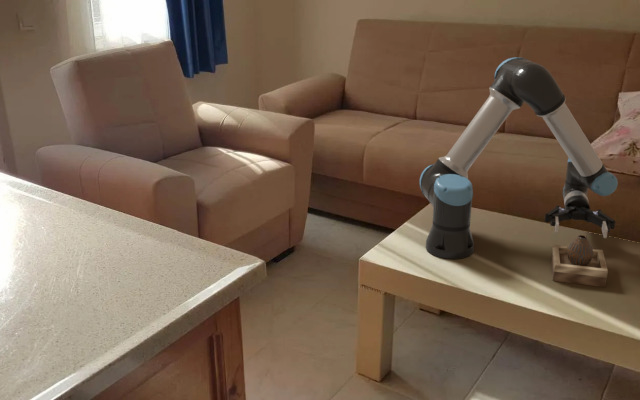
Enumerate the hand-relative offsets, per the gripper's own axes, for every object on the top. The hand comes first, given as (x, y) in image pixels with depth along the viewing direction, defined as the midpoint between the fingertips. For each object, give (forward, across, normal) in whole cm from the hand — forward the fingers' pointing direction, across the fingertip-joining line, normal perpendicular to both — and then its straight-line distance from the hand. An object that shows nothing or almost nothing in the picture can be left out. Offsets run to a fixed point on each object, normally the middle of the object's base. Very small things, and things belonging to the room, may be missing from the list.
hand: (581, 231), depth 186 cm
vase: (+7, 0, -8) cm, 10 cm away
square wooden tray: (+7, 0, -11) cm, 12 cm away
